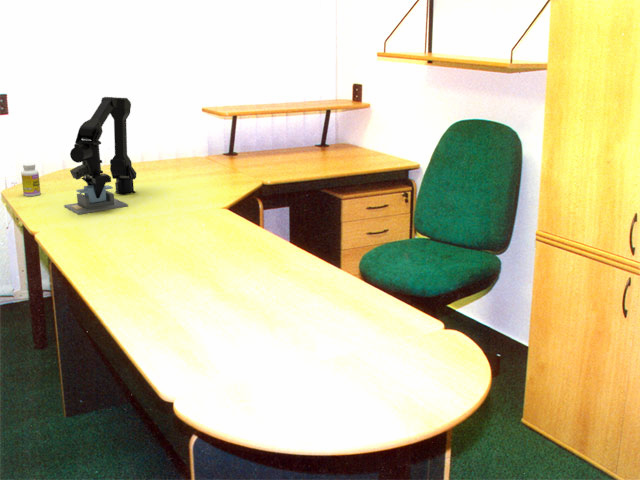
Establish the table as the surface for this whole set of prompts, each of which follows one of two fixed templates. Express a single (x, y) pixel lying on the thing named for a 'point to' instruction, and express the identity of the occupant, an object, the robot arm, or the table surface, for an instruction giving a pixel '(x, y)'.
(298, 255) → the table surface
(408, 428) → the table surface
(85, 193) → the block
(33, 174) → the supplement bottle
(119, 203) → the chassis plate
